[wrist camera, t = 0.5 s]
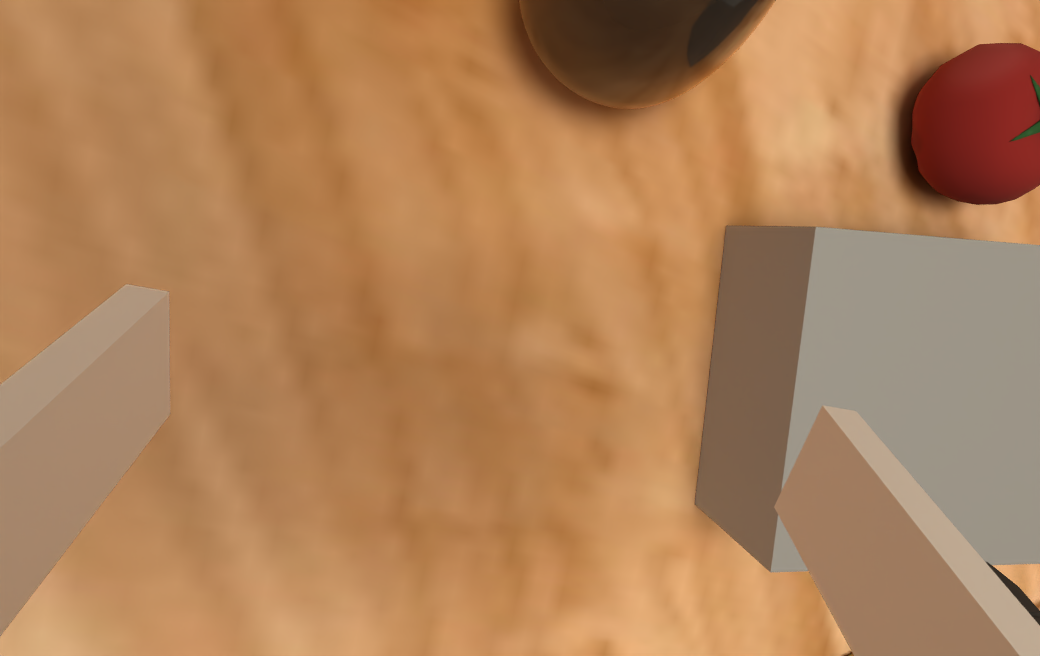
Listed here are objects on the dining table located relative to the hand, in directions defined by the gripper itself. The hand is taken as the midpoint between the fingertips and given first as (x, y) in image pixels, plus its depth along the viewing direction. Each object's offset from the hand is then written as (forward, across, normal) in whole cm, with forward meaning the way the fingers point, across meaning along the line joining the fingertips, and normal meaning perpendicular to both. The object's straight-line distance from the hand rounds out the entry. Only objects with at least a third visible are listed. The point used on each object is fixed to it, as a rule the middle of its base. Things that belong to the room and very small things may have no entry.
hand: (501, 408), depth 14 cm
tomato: (+28, +25, +6) cm, 38 cm away
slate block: (+23, +22, -8) cm, 33 cm away
